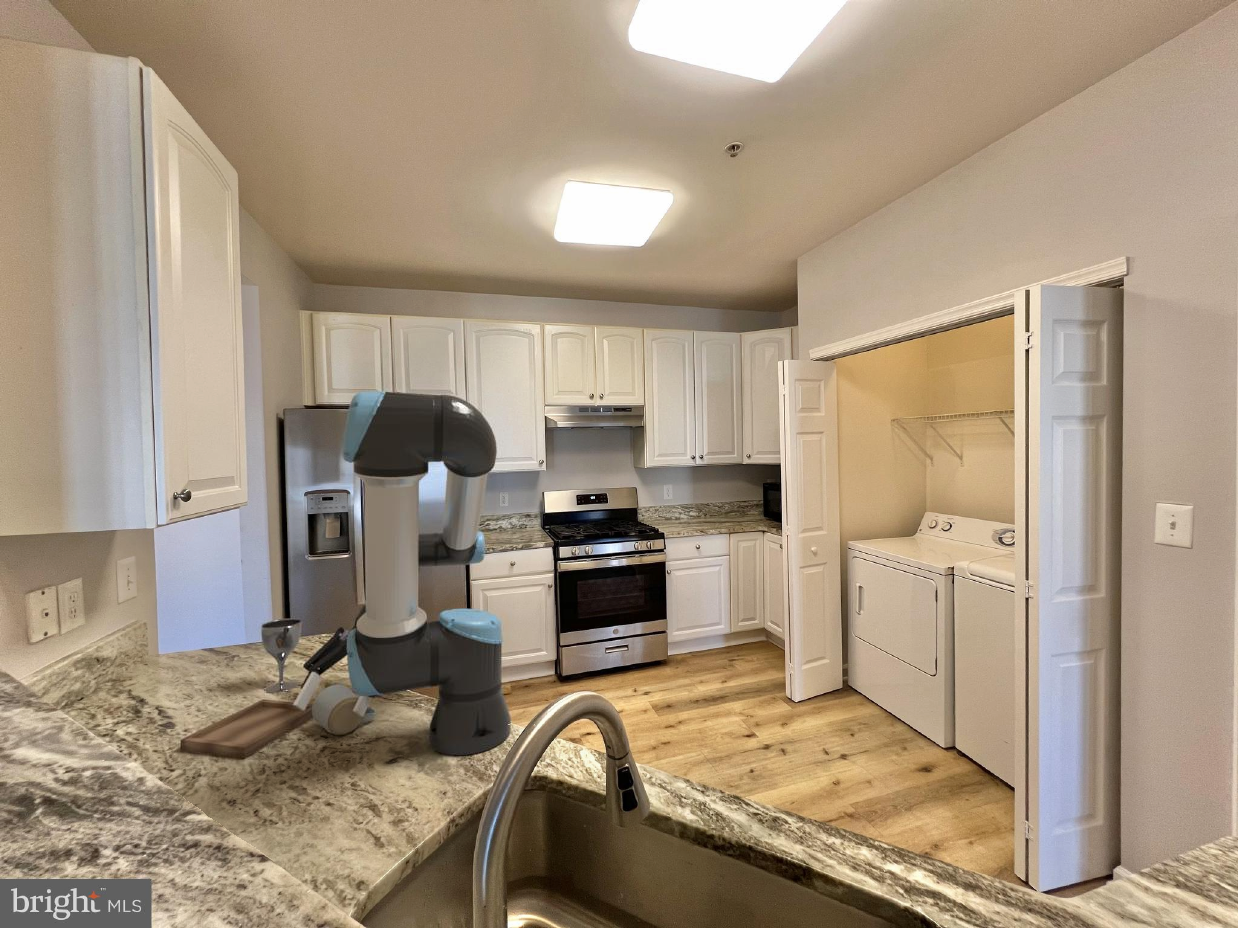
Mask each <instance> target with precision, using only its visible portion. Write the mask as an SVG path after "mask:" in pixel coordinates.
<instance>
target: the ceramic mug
mask: <svg viewBox="0 0 1238 928" xmlns="http://www.w3.org/2000/svg"><path fill="white" fill-rule="evenodd" d="M359 697H360V696H358V694H357V693H356V692H355V691H354V690H351V688H349V687H348V686H347V685H345V684H340V683H339V684H337V683H336V684H333V685H330V686H327V687H325V688H323V689H322V690H321V691H320V692H319V693H318V694H317V695H316V697H315V699H314V701H313V703H312V704H313V706H312V716H313V720H314V721H315V722H316V723H317V724H319V726H321V727H322V728H324V729H325V730H326V731H327V732H329V733H330V734H333V735H336V736H343V735H347V734H350V733H351V732H353V731H354V730H355V729H357V728H358V726H360V725H361V723H362V722H372V721H373V722H374V720H375V718H376V716H377V710H375V709H374V708H373V707H370V706H368V707H367V710H366V712H365V714H364V716H363V717H361V716H359V715H357V714H356V713H355V712H354V711H353V709H354V707H355V705H356V703H357V701H358V699H359Z"/></svg>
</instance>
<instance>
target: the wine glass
mask: <svg viewBox="0 0 1238 928" xmlns="http://www.w3.org/2000/svg"><path fill="white" fill-rule="evenodd" d="M260 628H261V629H260V630H261V632H260V633H261V634H260V636H261V641H262V646H263V649H264V651H266V653H268V654H269V655H270V656H271V657H272V658H273V659H274V660H276V663H277V665H278V675H279V676H278V677H279V678H278V681H277V682H273V683H270V684H271V685H270V684H269V686H268V685H267V687H266V686H265V687H266V689H264V688H263V689H264V691H266V694H276V693H282V692H283V691H284V692H287V691H290V690H293V689H295V688H297V687H298V686H299V684H300V682H299V681H298V680H292V679H291V680H284V668H285V663H286V660H287V658H288V657H289V656H290V655H291V653H293V651H294V650H295V649H296V648H297V646H298V644H299V642H300V640H301V639H300V638H301V633H302V619H300V618H294V617H293V618H292V617H291V618H281V619H275V620H271V621H267V622H265V623H263V624H262V625H261V627H260ZM292 688H293V689H292Z"/></svg>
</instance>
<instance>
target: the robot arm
mask: <svg viewBox="0 0 1238 928" xmlns="http://www.w3.org/2000/svg"><path fill="white" fill-rule="evenodd" d="M344 427H345V429H344V436H343V443H342V444H343V446H342V450H343V451H342V458H343V460H344V461H345V462H348V463H351V464H352V463H353V472H354V473H353V474H354V475H356V476H357V478H359V479H360V480H361V481H362V483H364V547H365V548H364V551H365V552H364V553H365V555H364V557H365V559H364V561H365V564H364V565H365V566H364V567H365V570H364V571H365V575H364V576H365V601H364V605H362V607H361V608H360V611H359V612H358V614H357V616H356V618H355V620H354V625H353V627H352V628H351V629H350V630H348V629H345V628H344V627H342V626H340V627H338V628H337V629H336V631H335V632H334V634H333V636H332V637H331V638H330V639H328V641H326V643H325V644H324V645H322V646H321V647H320V648H319V649H318V650H317V651H316V652H315V653H314V654H313V655H312V656H311V657H310V658H309V659H308V660H307V661H306V662H305V663H303V666H302V667H303V669H305V670H306V671H307V672H308V673H307V675H306V676H305V678H304V680H303V682H302V684H301V686H300V689H301V690H300V692H299V693H298V695H297V697H296V698H295V701H294V704H293V705H294V706H295V707H297V708H298V709H300V710H303V711H304V710H305V708H306V706H307V704H310V701H311V699H312V698H313V695H314V693H315V692H316V690H317V689H318V687H319V685H320V684H321V681H322V679H323V677H322V675H323V674H324V673H325V672H326V671H328V670H329V669H330V668H332V667H333V666H335V665H336V664H337V663H338V662H340V661H341V660H343V659H344V658H346V657H347V660H346V661H347V669H348V676H349V681H350V684H351V687H352V691H353V692H354V693H355V694H356V695H357V696H358V695H359V696H358V697H359V699H358V701H357V703H356V705H355V707H354V709H353V711H354V712H355V713H356V714H357V715H359V716H361V717H363V716H364V714H365V712H366V710H367V707H369V705H370V703H371V701H372V699H375V698H376V697H377V696H385V695H387V694H393V693H399V692H406V691H414V690H420V689H425V688H433V687H438V697H437V701H436V704H435V708H434V711H433V714H432V717H431V720H430V723H429V727H428V744H429V746H430V747H431V749H433V750H434V751H436V752H438V753H441V754H444V755H451V756H464V755H465V756H467V755H473V754H477V753H482V752H484V751H489V750H491V749H492V748H495V747H497V746H498V745H500V744H502V743H503V742H504V741H506V739H507V738H508V737H509V736H510V733H511V731H512V730H511V729H512V728H511V724H512V723H511V720H512V719H511V714H510V711H509V708H508V704H507V701H506V700H505V696H504V694H503V691H502V690H503V689H502V685H503V684H502V664H503V663H502V655H503V654H502V647H503V646H502V643H503V641H504V639H503V635H502V623H501V622H502V621H501V620H500V618H499V617H498V616H497V615H496V614H494V613H492V612H490V611H485V610H480V609H475V608H452V609H446V610H444V611H443V610H442V611H441V612H440V613H439V616H438V617H437V620H432V621H431V620H430V621H428V619H427V618H428V616H427V613H426V611H425V610H424V609H422V608H421V607H419V574H420V573H421V570H422V569H421V568H429V567H431V568H432V567H443V566H445V567H447V566H467V565H473V564H480V563H482V562H483V561H484V559H485V551H486V545H485V544H486V541H485V536H484V533H483V532H482V531H479V528H480V523H481V514H482V511H483V510H482V509H483V504H484V499H485V498H484V497H485V493H486V488H487V487H486V486H487V480H488V475H489V473H490V472H492V470H493V469H494V467H495V465H496V459H497V451H498V449H497V440H496V437H495V434H494V431H493V429H492V427H491V425H490V423H489V422H488V421H487V419H486V417H484V415H483V414H482V412H481V411H479V410H478V408H476V407H475V406H474V405H472V404H471V403H470V402H468V401H467V400H465V399H463V398H460V397H457V396H455V395H450V394H431V393H427V394H426V393H414V392H413V393H412V392H411V393H410V392H397V391H396V392H395V391H385V390H382V391H361V392H358V393H356V394H355V395H354V396H353V397H352V399H351V401H350V404H349V407H348V413H347V418H346V423H345V426H344ZM441 462H442V463H443V465H444V467H445V468H446V483H445V496H444V497H445V498H444V509H443V510H444V511H443V523H442V524H443V525H442V532H430V533H419V531H420V530H419V529H420V528H419V522H420V520H419V519H420V518H419V517H420V511H419V509H420V481H421V480H422V479H423V478H425V477H426V475H428V474H429V463H441ZM508 724H510V725H508Z"/></svg>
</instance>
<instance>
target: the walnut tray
mask: <svg viewBox="0 0 1238 928" xmlns="http://www.w3.org/2000/svg"><path fill="white" fill-rule="evenodd" d="M294 702H295V701H294ZM294 702H293V701H283V700H274V699H260V700H259V701H258V702H254V703H253V704H251V705H249V706H247V707H245V708H243V709H241V710H238V711H237V712H235V713H232V714H230V715H228V716H226V717H224V718H222V719H221V720H219V721H216V722H214V723H211V724H210V725H208V726H206V727H204V728H201V729H200V730H197V731H195V732H193V733H191V734H190V735H187V736H186V737H184V738H181V739H180V752H186V753H187V752H188V753H194V754H200V755H201V754H202V755H211V756H217V757H224V758H225V757H226V758H232V759H233V758H234V759H241V760H246V759H247V758H249V757H251V756H252V755H255V754H256V753H257V752H259V751H260V750H259V749H261V748H263V747H264V746H266V745H268V744H269V743H271V742H273V741H274V740H276V739H278V738H279V739H281V738H282V736H283V737H284V736H286V735H287V734H286V733H288V734H290V733H291V732H293V731H295V730H296V729H298V728H300V727H301V726H302V725H304V723H305V724H306V723H308V722H309V721H311V720H314V718H313V716H312V706H313V703H308V704H307V706H306V708H305V710H304V711H303V710H300V709H298V708H297V707H295V706H294V705H293V704H294ZM299 726H300V727H299ZM295 728H296V729H295ZM294 729H295V730H294ZM292 730H293V731H292ZM290 731H291V732H290ZM285 734H286V735H285ZM280 737H281V738H280ZM279 739H278V740H279ZM276 741H277V740H276ZM274 742H275V741H274ZM274 742H273V743H274ZM271 744H272V743H271ZM269 745H270V744H269ZM269 745H268V746H269ZM266 747H267V746H266ZM264 748H265V747H264ZM264 748H263V749H264ZM258 750H259V751H258ZM261 750H262V749H261ZM256 751H257V752H256ZM255 752H256V753H255Z"/></svg>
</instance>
